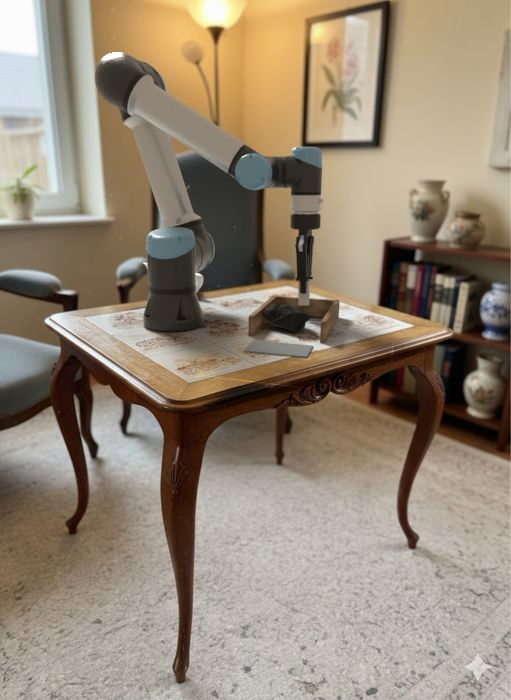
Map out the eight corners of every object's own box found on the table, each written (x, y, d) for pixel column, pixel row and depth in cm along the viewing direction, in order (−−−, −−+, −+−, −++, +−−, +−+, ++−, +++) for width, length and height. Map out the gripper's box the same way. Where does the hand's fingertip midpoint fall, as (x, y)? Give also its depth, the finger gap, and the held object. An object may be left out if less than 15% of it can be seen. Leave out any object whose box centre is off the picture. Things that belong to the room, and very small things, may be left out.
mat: (243, 351, 117) (243, 350, 117) (253, 341, 124) (253, 340, 124) (306, 357, 113) (306, 356, 113) (313, 346, 121) (313, 345, 121)
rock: (299, 315, 125) (292, 284, 130) (264, 338, 130) (259, 307, 136) (319, 329, 130) (311, 298, 135) (285, 350, 135) (279, 319, 141)
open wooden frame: (248, 336, 128) (248, 316, 127) (272, 313, 150) (273, 295, 149) (325, 343, 123) (326, 322, 122) (338, 318, 145) (339, 300, 144)
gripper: (316, 214, 128) (313, 311, 135) (324, 211, 140) (321, 300, 147) (285, 214, 130) (284, 309, 137) (296, 211, 142) (294, 298, 149)
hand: (303, 304), depth 142 cm, fingers closed
